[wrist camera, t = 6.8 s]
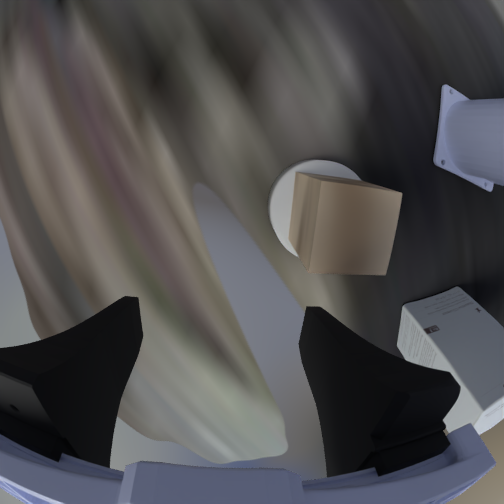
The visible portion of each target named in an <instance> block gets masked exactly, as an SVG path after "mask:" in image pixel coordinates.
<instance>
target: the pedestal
mask: <svg viewBox="0 0 504 504" xmlns="http://www.w3.org/2000/svg"><path fill="white" fill-rule="evenodd" d="M295 172H303V173H312V174H320V175H328V176H335V177H342V178H349V179H356V180H361V179H360V178H359V177H358V176H357V175H356V174H355V173H354V172H353V171H352V170H350V169H349V168H348V167H346V166H344V165H342V164H339V163H336V162H332V161H326V160H318V159H309V160H303V161H299V162H297V163H295V164H293V165H291V166H289V167H288V168H286V169H285V170H284V171H283V172H282V173H281V174H280V175H279V176H278V177H277V179H276V180H275V182H274V183H273V185H272V187H271V190H270V193H269V197H268V215H269V219H270V222H271V225H272V227H273V229H274V231H275V233H276V235H277V237H278V238H279V240H280V242H281V243H282V244H283V246H284V247H285V248H286V249H287V250H288V251H289V252H291V253H292V254H294V255H295V256H297V257H299V256H298V255H297V253H296V251H295V250H294V248H293V246H292V245H291V243H290V241H289V240H288V236H289V228H290V219H291V210H292V201H293V192H294V182H295Z"/></svg>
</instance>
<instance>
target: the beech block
mask: <svg viewBox="0 0 504 504" xmlns="http://www.w3.org/2000/svg"><path fill="white" fill-rule="evenodd" d="M401 199H402V193H400V192H397V191H394V190H391V189H388V188H385V187H381V186H378V185H375V184H371V183H368V182H364V181H361V180H356V179H349V178H342V177H335V176H328V175H320V174H312V173H303V172H295V182H294V192H293V201H292V210H291V219H290V228H289V236H288V240H289V241H290V243H291V245H292V246H293V248H294V250H295V251H296V253H297V255H298V256H299V258H300V260H301V261H302V263H303V265H304V266H305V268H306V270H307V272H308V273H322V274H356V275H386V272H387V268H388V264H389V260H390V255H391V251H392V247H393V242H394V237H395V232H396V227H397V222H398V217H399V211H400V205H401Z"/></svg>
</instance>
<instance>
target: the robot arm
mask: <svg viewBox="0 0 504 504" xmlns="http://www.w3.org/2000/svg"><path fill="white" fill-rule="evenodd" d="M450 92H451V94H450ZM441 161H443V163H441ZM433 162H434V164H435V165H436V166H438V167H440V168H443V169H445V170H447V171H449V172H451V173H453V174H455V175H458V176H460V177H462V178H464V179H466V180H468V181H470V182H472V183H474V184H475V185H477V186H479V187H481V188H483V189H485V190H487V191H489V192H491V191H492V189H493V184H494V183H495V184H499V185H502V186H504V98H502V99H479V100H470V99H468V98H467V97H465V96H464V95H462V94H461V93H459V92H458V91H456V90H455V89H453V88H452V87H450V86H448V85H443V86H442V91H441V104H440V115H439V124H438V132H437V139H436V146H435V152H434V158H433ZM484 183H485V185H484ZM142 339H143V331H142V323H141V316H140V308H139V299H138V297H130V296H125V297H123V298H121V299H119V300H117V301H116V302H114V303H113V304H111V305H110V306H108V307H106V308H105V309H103V310H102V311H100V312H99V313H97V314H95V315H94V316H92V317H90V318H89V319H87V320H85V321H83V322H82V323H80V324H78V325H76V326H74V327H72V328H70V329H68V330H66V331H64V332H62V333H59V334H57V335H54V336H51V337H48V338H46V339H43V340H40V341H36V342H33V343H29V344H24V345H19V346H14V347H7V348H0V488H2V489H3V490H4V491H6V492H8V493H9V494H11V495H12V496H14V497H15V498H17V499H19V500H20V501H22V502H24V503H25V504H445V503H446V502H448V501H450V500H452V499H454V498H455V497H457V496H459V495H460V494H461V493H463V492H464V491H465V490H467V489H468V488H469V487H470V486H472V485H473V484H474V483H476V482H477V481H478V480H479V479H480V478H481V477H483V476H484V475H485V474H486V473H487V472H488V471H490V470H491V469H492V468H493V467H494V466H495V465H496V462H495V460H494V458H493V457H492V455H491V453H490V452H489V450H488V449H487V447H486V446H485V444H484V442H483V441H482V439H481V438H480V436H479V434H478V433H477V431H476V430H475V428H474V427H473V425H472V424H471V423H469V424H467V425H464V426H462V427H460V428H458V429H456V430H454V431H452V432H450V433H449V434H448V435H447V436H446V435H445V433H444V432H443V430H444V429H445V428H446V424H445V423H444V421H443V419H444V418H445V417H446V415H447V414H448V413H449V411H450V410H451V408H452V407H453V406H454V404H455V403H456V401H457V399H458V397H459V394H460V391H461V386H460V385H459V383H458V382H457V381H456V379H455V378H454V377H453V375H452V374H451V373H450V372H448V371H443V370H438V369H433V368H429V367H425V366H421V365H418V364H415V363H412V362H409V361H406V360H404V359H401V358H399V357H397V356H394V355H392V354H390V353H388V352H386V351H384V350H382V349H380V348H378V347H376V346H374V345H373V344H371V343H369V342H368V341H366V340H365V339H363V338H362V337H360V336H359V335H357V334H356V333H354V332H353V331H352V330H350V329H349V328H347V327H346V326H345V325H344V324H342V323H341V322H340V321H338V320H337V319H336V318H335V317H333V316H332V315H331V314H329V313H328V312H327V311H326V310H324V309H323V308H321V307H307V306H306V311H305V316H304V321H303V326H302V331H301V335H300V340H299V349H300V354H301V360H302V364H303V367H304V370H305V373H306V376H307V379H308V382H309V385H310V388H311V390H312V394H313V397H314V400H315V403H316V406H317V410H318V415H319V420H320V425H321V431H322V437H323V443H324V451H325V459H326V470H327V478H322V479H314V480H307V481H301V477H300V475H299V474H297V473H294V472H291V471H289V470H286V469H277V468H214V467H213V468H212V467H198V466H186V465H177V464H170V463H163V462H148V461H140V462H136V463H133V464H130V465H127V466H126V467H125V472H123V471H119V470H115V469H111V468H110V456H111V448H112V440H113V433H114V428H115V423H116V418H117V413H118V409H119V405H120V401H121V398H122V394H123V392H124V389H125V386H126V384H127V381H128V379H129V377H130V374H131V372H132V369H133V367H134V364H135V362H136V359H137V357H138V354H139V351H140V347H141V343H142Z"/></svg>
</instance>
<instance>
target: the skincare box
mask: <svg viewBox="0 0 504 504" xmlns="http://www.w3.org/2000/svg"><path fill="white" fill-rule="evenodd" d="M397 347H398V348H399V350H400V351H401V353H402V354H403V356H404V358H405V359H406V361H409V362H412V363H415V364H418V365H421V366H425V367H429V368H433V369H438V370H443V371H448V372H450V373H451V374H452V375H453V377H454V378H455V379H456V381H457V382H458V383H459V385H460V386H461V391H460V394H459V397H458V399H457V401H456V403H455V404H454V406H453V407H452V408H451V410H450V411H449V413H448V414H447V415H446V417H445V418H444V419H443V421H444V423H445V424H446V429H447V430H448V432H449V433H450V432H452V431H454V430H456V429H458V428H460V427H462V426H464V425H467V424H469V423H471V424H472V425H473V427H474V428H475V430H476V431H477V433H478V434H479V435H480V434H481V433H483V432H485V431H487V430H489V429H490V428H492V427H493V426H494V425H496V424H497V423H498V422H499V421H501V420H502V419H503V418H504V328H503V327H502V326H501V325H500V324H499V323H498V322H497V321H496V320H495V319H494V318H493V317H492V316H491V315H490V314H489V313H488V312H487V311H486V310H485V309H483V308H482V307H481V306H480V305H479V304H478V303H477V302H476V301H475V300H474V299H472V298H471V297H470V296H469V295H468V294H467V293H466V292H464V291H463V290H462V289H461V288H459V287H455V288H452V289H450V290H448V291H446V292H443V293H440V294H438V295H435V296H432V297H429V298H425V299H422V300H419V301H415V302H410V303H406V304H404V305H403V307H402V314H401V322H400V329H399V335H398V342H397Z"/></svg>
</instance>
